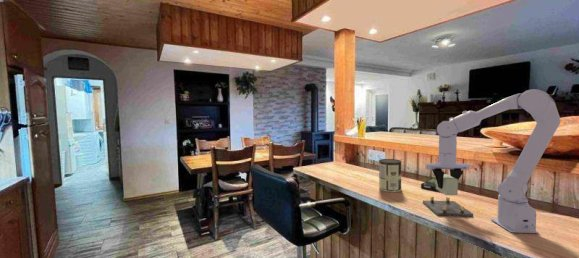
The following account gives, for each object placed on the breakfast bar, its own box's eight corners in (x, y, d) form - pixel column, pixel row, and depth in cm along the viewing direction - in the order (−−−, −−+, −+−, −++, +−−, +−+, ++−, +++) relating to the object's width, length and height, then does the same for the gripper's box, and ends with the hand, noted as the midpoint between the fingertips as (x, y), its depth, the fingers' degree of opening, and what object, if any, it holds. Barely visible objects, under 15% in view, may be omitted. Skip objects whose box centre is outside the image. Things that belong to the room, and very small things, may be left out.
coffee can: (390, 184, 130) (390, 157, 129) (406, 190, 121) (406, 161, 120) (374, 187, 127) (374, 159, 126) (389, 193, 117) (389, 163, 116)
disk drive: (444, 194, 116) (454, 187, 126) (444, 188, 116) (454, 181, 126) (420, 189, 124) (432, 182, 134) (420, 183, 124) (432, 177, 134)
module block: (446, 188, 101) (446, 174, 101) (457, 195, 93) (457, 179, 93) (435, 188, 101) (436, 174, 101) (445, 195, 93) (446, 179, 93)
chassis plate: (473, 216, 90) (473, 208, 90) (437, 215, 92) (437, 207, 91) (453, 203, 103) (453, 196, 103) (422, 202, 104) (422, 195, 104)
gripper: (461, 151, 99) (460, 185, 100) (422, 151, 101) (422, 184, 102) (472, 154, 92) (471, 190, 93) (430, 154, 94) (430, 190, 95)
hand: (446, 187), depth 97 cm, fingers closed on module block, 4 cm apart
